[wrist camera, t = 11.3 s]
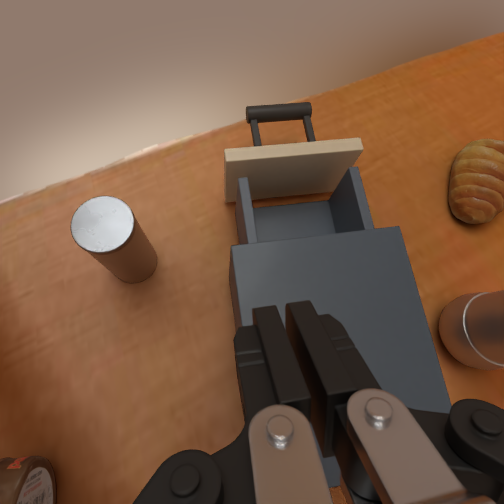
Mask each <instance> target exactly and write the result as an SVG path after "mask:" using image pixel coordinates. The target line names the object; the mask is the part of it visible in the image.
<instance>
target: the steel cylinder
mask: <svg viewBox="0 0 504 504" xmlns="http://www.w3.org/2000/svg"><path fill="white" fill-rule="evenodd" d="M71 233H72V236H73V239H74V240H75V242H76V243H77V244H78V245H79V246H80V247H81V248H82V249H84V250H85V251H87V252H88V253H89V254H91V255H92V256H93V257H94V258H95V259H96V260H98V261H99V262H100V263H101V264H102V265H104V266H105V267H106V268H107V269H108V270H109V271H111V272H112V273H113V274H114V275H115V276H117V277H118V278H119V279H120V280H122V281H124V282H128V283H138V282H141V281H144V280H145V279H147V278H148V277H150V276H151V275H152V273H153V272H154V270H155V268H156V265H157V255H156V252H155V250H154V249H153V247H152V245H151V244H150V242H149V240H148V239H147V237H146V235H145V233H144V232H143V230H142V228H141V227H140V225H139V223H138V222H137V220H136V218H135V216H134V214H133V212H132V210H131V209H130V207H129V206H128V205H127V204H126V203H125V202H124V201H122V200H120V199H118V198H115V197H111V196H99V197H95V198H92V199H90V200H88V201H86V202H85V203H83V204H82V205H81V206H80V207H79V208H78V209H77V210H76V212H75V213H74V215H73V218H72V221H71Z"/></svg>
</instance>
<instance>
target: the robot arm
mask: <svg viewBox="0 0 504 504" xmlns="http://www.w3.org/2000/svg"><path fill="white" fill-rule="evenodd" d="M252 319H253V325H250V326H243V327H238V329H237V332H236V335H235V337H234V350H235V360H236V370H237V378H238V384H239V390H240V396H241V402H242V408H243V414H244V421H245V426H244V428H243V430H242V432H241V433H240V435H239V436H238V437H237V438H236V440H235V441H233V442H232V443H231V444H230V445H228V446H227V447H225V448H223V449H221V450H219V451H218V452H216V453H214V454H212V455H209V454H207V453H206V452H203V451H200V450H184V451H181V452H178V453H176V454H174V455H172V456H171V457H169V458H168V459H167V460H165V461H164V462H163V463H162V464H161V466H160V467H159V468H158V469H157V471H156V472H155V473H154V475H153V476H152V477H151V479H150V480H149V482H148V483H147V484H146V486H145V487H144V488H143V490H142V491H141V493H140V494H139V495H138V497H137V498H136V499H135V501H134V502H133V504H333V501H332V497H331V494H330V491H329V487H328V484H327V480H326V477H325V473H324V470H323V467H322V463H321V460H320V456H319V453H318V449H317V446H316V443H315V439H314V436H313V432H312V429H311V426H310V422H311V424H312V427H313V430H314V433H315V436H316V439H317V442H318V444H319V447H320V450H321V453H322V456H323V458H328V457H333V456H335V457H336V460H337V462H338V465H339V467H340V486H341V489H342V492H343V494H344V497H345V499H346V502H347V504H504V410H503V409H501V408H499V407H497V406H495V405H493V404H490V403H488V402H485V401H482V400H477V399H464V400H460V401H457V402H456V403H454V404H453V406H452V407H451V409H450V412H449V414H448V413H440V412H431V411H422V410H416V409H412V408H408V407H406V406H405V404H404V403H403V402H402V401H401V400H400V399H399V398H397V397H396V396H394V395H393V394H391V393H389V392H386V391H384V390H382V388H381V387H380V385H379V384H378V382H377V380H376V379H375V377H374V375H373V374H372V372H371V371H370V369H369V367H368V366H367V364H366V362H365V361H364V359H363V357H362V356H361V354H360V353H359V351H358V349H357V348H356V347H355V344H354V343H353V341H352V339H351V338H349V335H348V333H347V331H346V330H345V328H344V326H343V325H342V323H341V322H339V321H338V320H337V319H335V318H334V317H333V316H331V315H330V314H323V315H318V314H317V312H316V310H315V308H314V306H313V304H312V303H311V301H310V300H306V301H299V302H292V303H286V306H285V327H284V325H283V322H282V319H281V317H280V314H279V311H278V309H277V306H276V305H271V306H264V307H257V308H252Z"/></svg>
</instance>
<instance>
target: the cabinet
mask: <svg viewBox="0 0 504 504" xmlns="http://www.w3.org/2000/svg"><path fill="white" fill-rule="evenodd" d="M229 282H230V290H231V297H232V305H233V312H234V320H235V327H236V332H237V329H238V327H243V326H250V325H253V319H252V308H257V307H264V306H271V305H276V306H277V309H278V311H279V314H280V317H281V319H282V322H283V325H284V327H285V306H286V303H292V302H299V301H306V300H310V301H311V303H312V304H313V306H314V308H315V310H316V312H317V314H318V315H323V314H330V315H331V316H333V317H334V318H335V319H337V320H338V321H339V322H341V323H342V325H343V326H344V328H345V330H346V331H347V333H348V335H349V338H351V339H352V341H353V343H354V344H355V347H356V348H357V349H358V351H359V353H360V354H361V356H362V357H363V359H364V361H365V362H366V364H367V366H368V367H369V369H370V371H371V372H372V374H373V375H374V377H375V379H376V380H377V382H378V384H379V385H380V387H381V388H382V390H384V391H386V392H389V393H391V394H393V395H394V396H396V397H397V398H399V399H400V400H401V401H402V402H403V403H404V404H405V406H406V407H408V408H412V409H416V410H422V411H431V412H440V413H448V414H449V412H450V409H451V407H452V406H451V402H450V399H449V395H448V392H447V389H446V385H445V382H444V378H443V375H442V371H441V368H440V364H439V361H438V358H437V354H436V351H435V347H434V344H433V340H432V337H431V333H430V330H429V327H428V323H427V320H426V316H425V313H424V309H423V306H422V303H421V299H420V296H419V292H418V289H417V285H416V282H415V278H414V275H413V272H412V268H411V265H410V261H409V258H408V254H407V251H406V248H405V244H404V241H403V237H402V234H401V230H400V227H399V226H395V227H387V228H378V229H370V230H361V231H352V232H344V233H335V234H327V235H318V236H310V237H301V238H292V239H284V240H275V241H267V242H258V243H250V244H241V245H232V246H231V251H230V267H229ZM310 426H311V429H312V432H313V436H314V439H315V443H316V446H317V449H318V453H319V456H320V460H321V463H322V467H323V470H324V473H325V477H326V480H327V484H328V487H329V488H331V487H336V486H340V467H339V465H338V462H337V460H336V457H335V456H333V457H328V458H323V456H322V453H321V450H320V447H319V444H318V442H317V439H316V436H315V433H314V430H313V427H312V424H311V422H310Z"/></svg>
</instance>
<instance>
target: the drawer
mask: <svg viewBox="0 0 504 504" xmlns="http://www.w3.org/2000/svg"><path fill="white" fill-rule="evenodd" d="M311 114H312V107H311V103H310V102H303V103H289V104H276V105H261V106H248V107H246V120H247V123H248V124H250V126H251V132H252V138H253V143H254V147H244V148H232V149H224V196H225V202H235V201H236V210H235V216H236V223H237V230H238V236H239V243H240V245H241V244H250V243H258V242H267V241H275V240H284V239H292V238H301V237H310V236H318V235H327V234H335V233H344V232H352V231H361V230H370V229H374V225H373V221H372V218H371V214H370V210H369V206H368V203H367V199H366V195H365V191H364V188H363V184H362V180H361V177H360V173H359V169H358V167H353V165H354V163H355V162H356V160H357V159H358V157H359V156H360V154H361V153H362V151H363V146H362V142H361V139H360V138H350V139H338V140H327V141H316V140H315V136H314V131H313V127H312V123H311V119H310V118H311ZM302 119H303V124H304V128H305V133H306V137H307V142H303V143H291V144H279V145H267V146H262V145H261V139H260V134H259V128H258V123H263V122H276V121H289V120H302ZM333 191H334V192H333ZM323 192H333V193H332V195H331V197H330V198H329V200H327V201H317V202H307V203H298V204H288V205H279V206H269V207H260V208H253V207H252V201H251V200H255V199H265V198H274V197H284V196H294V195H304V194H314V193H323Z"/></svg>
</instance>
